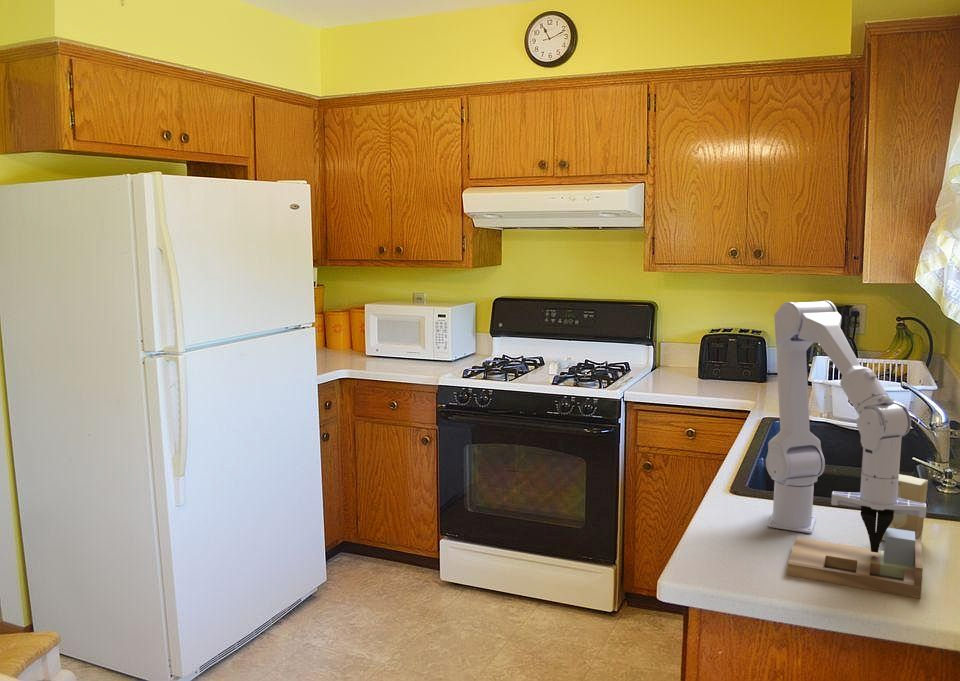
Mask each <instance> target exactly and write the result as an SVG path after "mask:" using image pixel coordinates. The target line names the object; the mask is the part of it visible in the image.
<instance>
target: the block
mask: <svg viewBox="0 0 960 681" xmlns="http://www.w3.org/2000/svg"><path fill="white" fill-rule="evenodd" d="M883 548H884V550H883V551H884V562H890V563H896V564H902V565H908V566H913V565H914V552H915V532H914V531H907V530H901V529H894V528H887V530H886V532H885V540H884V547H883Z"/></svg>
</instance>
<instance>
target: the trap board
mask: <svg viewBox="0 0 960 681" xmlns="http://www.w3.org/2000/svg"><path fill="white" fill-rule="evenodd" d="M923 566H924V565H923V546H922V539H921V540H917V539H915V552H914V565H913V566H908V565H902V564H896V563H890V562H884V550H880V549H878V553H876V552H871V548H867V547H860V546H854V545H848V544H847V545H846V544H842V543H841V544H840V543H835V542H830V541H829V542H828V541H822V540H816V539H812V538H811V539H810V538H804V537H799V536H798V537H795V540H794V543H793V546H792V548H791V552H790V555H789V558H788V561H787V568H786V569H787V570H786V575H787V576H792V577H798V578H803V579H808V580H815V581H821V582H826V583H831V584H838V585H842V586H847V587H855V588H860V589H863V590H864V589H866V590H871V591H876V592H881V593H888V594H893V595H898V596H904V595H905V596H904V597H910V598H915V599H916V598H917V599H920V598H922V596H921V595H922V583H923V572H924V567H923Z"/></svg>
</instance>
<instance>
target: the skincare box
mask: <svg viewBox="0 0 960 681" xmlns="http://www.w3.org/2000/svg"><path fill="white" fill-rule="evenodd" d="M928 485H929V480H928V479H924V478H918V477H916V476H911V475H906V474H900V473H899V480H898V493H897V498H901V499H906V500H910V501H914V502H919V503H926V502H927V494H928V493H927V492H928ZM926 504H927V503H926ZM924 520H925V518H922V517H918V516H917V515H910V514H902V513H895V512H894V518H893V521H892V522H891V524H890V525H889V527H888V528H894V529H901V530H907V531H914V532H915V539H917V540H921V541H922V538H923V531H924V529H923V528H924ZM881 541H885V533H884V535H883V538H882V540H881Z"/></svg>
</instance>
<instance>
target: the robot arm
mask: <svg viewBox="0 0 960 681" xmlns="http://www.w3.org/2000/svg"><path fill="white" fill-rule="evenodd" d="M773 317H774V336H775V346H776V367H777V368H776V370H777V391H778V410H779V431H778V433H776V435H774V436H773V437H772V438H771V439H770V440H769V441H768V442H767V445H768V448H767V449H768V451H767V454H766V458H765V467H766V470H767V472H768V473H767V474H768V475H769V476H770V479H771V480H773V481H774V485H773V488H774V489H773V507H772V515H771V516H770V519H769V520H768V521H769V522H768V523H767V527H769V528H774V529H778V530H779V529H781V530H786V531H794V532H800V533H806V534H813V530H814V528H815V522H816V520H817V516H816V515H813V507H814V505H813V504H814V503H813V502H814V492H815V491H814V487H815V486H814V485H815V483H817V482H818V477H820V476H821V475H822V474H823V473H824V472H825V467H826V462H825V461H826V460H825V457H824V454H823V451H822V445H821V440H820V439H819V437H817V436H816V435H814V433H812V432H811V431H810V430H811V429H810V408H809V407H810V406H809V404H810V403H809V386H808V368H807V367H808V364H807V363H808V362H807V351H808V349H809V348H811V346H812V345H813V344H815V343H816V344H817V345H819V346H820V347H821V349H822V350H823V352H825V354H826V355H827V357H828V358H829V359H830V360H831V362H832V364H833V365H834V366H835V367H836V368H837V370H838V372H839V373H840V374H841V379H840V383H839V385H840V387H841V388H842V390H843V392H844V393H845V395H846V397H847V398H848V400H849V401H850V404H851V405H852V406H853V408H854V410H855V412H856V413H857V415H858V418H856V426H857V429H858V430H857V431H858V432H859V434H860V444H861V447H862V460H861V475H860V489H859V490H860V491H859V492H851V491H849V492H847V491H834V490H833V491H832V492H831V502H830V503H831V505H832V506H846V507H852V508H860V516H861V519H862V521H863V524H864V526H865V529H866V532H867V535H868V539H869V545H870V549H871V552H876V553H878V550H880V545H881V542H882V541H883V540H882V538H883V535H884V533H885V532H886V530H887V528H888V527H889V525H890V524H891V522H892V521H893V518H894V512H895V513H902V514H910V515H917V516H918V517H922V518H924V519H926V517H927V503H919V502H914V501H910V500H906V499H901V498H897V493H898V480H899V474H900V467H901V466H900V465H901V462H900V461H901V451H902V438H903V437H905V436H906V435H907V434H908V433H909V432H910V430H911V428H912V418H911V415H910V413H909V411H908V408H907V406H906V405H904V404H902V403H901V402H898V401H896V400H895V399H894V398H892V397H890V396H889V395H888V393H887V391H886V389H885V388H884V386H883V385H882V384H881V382H880V380H879V379H878V378H877V374H876V373H875V371H874V370H872V369H871V368H869V367H865V366H861V364H860V361H859V360H858V358H857V356H856V354H855V353H854V351H853V349H852V347H851V345H850V343H849V341H848V340H847V338H846V335H845V334H844V332H843V329H841V325H842V315H841V314H840V313H839V312H838V308H837V307H836V305H835V304H834V303H833V302H831V301H830V300H821V301H804V302H803V301H802V302H793V301H787V302H784V303H782V304H781V306H779V308H778V309H777V311H776V312H775V313H774V316H773Z"/></svg>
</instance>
